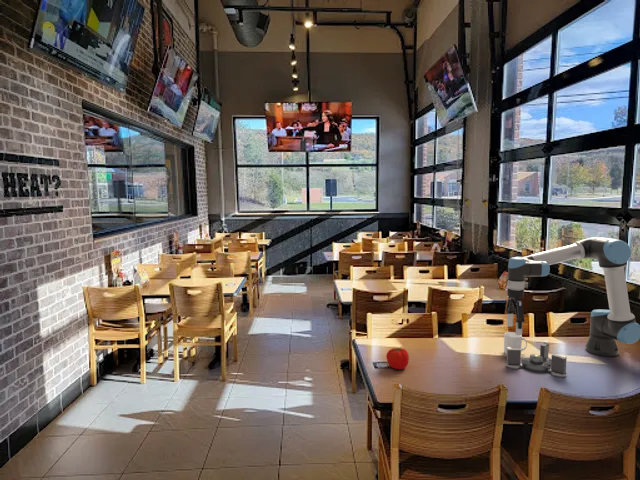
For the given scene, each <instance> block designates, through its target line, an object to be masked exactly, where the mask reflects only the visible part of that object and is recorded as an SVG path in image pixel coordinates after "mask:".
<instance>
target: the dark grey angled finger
mask: <svg viewBox="0 0 640 480" xmlns="http://www.w3.org/2000/svg"><path fill="white" fill-rule="evenodd" d="M521 355H522V351H521V350H520V349H512V348H511V347H507V354H506V362H507V364H519V365H520V363H521Z"/></svg>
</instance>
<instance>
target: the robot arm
mask: <svg viewBox="0 0 640 480" xmlns="http://www.w3.org/2000/svg"><path fill="white" fill-rule="evenodd" d="M631 250H632V249H631V247H630V246H629V244H628V242H625V241H624V240H621V239H618V238H609V237H603V236H594V237H588V238H585V239H580V240H576V241H574V242H572V244H569V245H565V246H561V247H557V248H553V249H549V250H546V251H541V252H537V253H534V254H529V255H525V256H517V255H516V256H515V257H510V258H509V259H508V263H507V264H508V265H507V282H506V284H507V292H506V294H507V297H508V298H507V302H506V307H505V311H506V327H513V325H514V314H515V317H516V320H515V333H516V335H523V323H525V321H526V320H525V314H524V304H523V301H521V298H524V297H525V285H526V283H525V278H526V277H527V278H528V277H529V278H530V277H533V278H534V277H536V278H537V277H540V278H541V277H547V276H548V275H550V272H551V268H550V266H551V265H556V264H560V263H564V262H567V261H571V260H575V259H579V260H583V259H594V260H598V267H599V268H601V269H602V270H603V276H604V281H605V287H606V294H607V295H606V296H607V301H608V308H609V309H600V308H599V309H593V310H592V311H591V312H590V319H589V320H590V326H589V337H588V339H587V341H586V342H585V345H584V348H585V351H587V352H589V353H590V354H593V355H597V356H601V357H616V356H618V355H619V348H618V347H619V346H618V344H617V341H618V342H619V343H623V344H626V345H631V344H635V343H637V342H638V341H639V340H640V324H639V323H637V321H636V316H635V315H634V314H633V312H631V308H630V299H629V294H628V292H629V291H628V287H627V286H628V285H627V281H626V274H625V272H626V271H625V267H626V266H627V265H628V262H629V260H630V258H631V255H632V251H631Z"/></svg>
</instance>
